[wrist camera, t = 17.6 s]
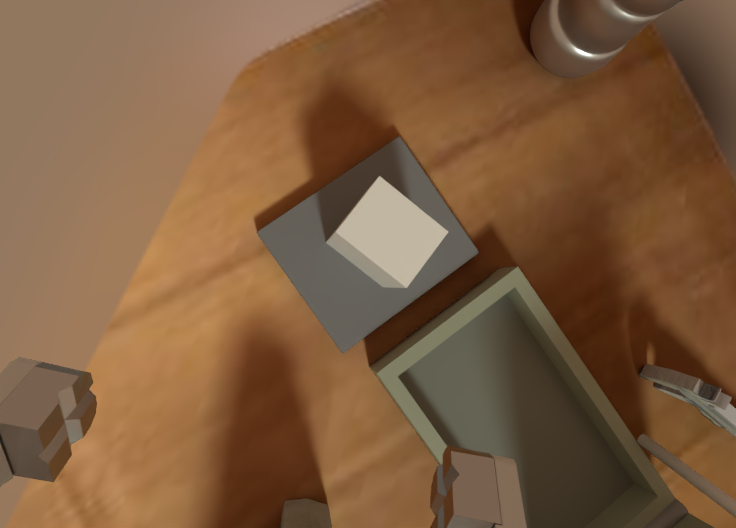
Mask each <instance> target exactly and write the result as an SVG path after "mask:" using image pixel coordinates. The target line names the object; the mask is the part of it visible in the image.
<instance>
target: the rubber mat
mask: <svg viewBox="0 0 736 528" xmlns="http://www.w3.org/2000/svg"><path fill="white" fill-rule="evenodd" d="M379 176H380V177H382V178H383V179H384V180H385V181H386V182H388V183H389V184H390V185H391V186H393V187H394V188H395V189H396V190H398V191H399V192H400V193H401V194H403V195H404V196H405V197H406V198H407V199H409V200H410V201H411V202H412V203H414V204H415V205H416V206H417V207H419V208H420V209H421V210H422V211H424V212H425V213H426V214H427V215H428V216H430V217H431V218H432V219H433V220H435V221H436V222H437V223H438V224H440V225H441V226H442V227H443V228H445V229H446V230H447V231H448V233H447V235H446V236H445V237H444V239H443V240H442V241H441V243H440V244H439V245H438V247H437V248H436V249H435V251H434V252H433V253H432V255H431V256H430V257H429V259H428V260H427V261H426V263H425V264H424V265H423V267H422V268H421V270H420V271H419V272H418V274H417V275H416V276H415V278H414V279H413V280H412V282H411V283H410V284H409V286H408V287H407V288H389V287H382V286H381V285H379V284H378V283H377V282H376V281H374V280H373V279H372V278H371V277H369V276H368V275H367V274H365V273H364V272H363V271H362V270H360V269H359V268H358V267H356V266H355V265H354V264H353V263H351V262H350V261H349V260H348V259H346V258H345V257H344V256H342V255H341V254H340V253H339V252H337V251H336V250H335V249H333V248H332V247H331V246H330V245H328V244H327V243H326V242H327V240H328V239H329V238H330V237H331V235H332V234H333V233H334V231H335V230H336V229H337V228H338V226H339V225H340V224H341V222H342V221H343V220H344V219H345V217H346V216H347V215H348V214H349V212H350V211H351V210H352V208H353V207H354V206H355V205H356V203H357V202H358V201H359V199H360V198H361V197H362V196H363V195H364V193H365V192H366V191H367V190H368V189H369V188H370V186H371V185H372V184H373V183H374V182H375V181H376V179H377V178H378V177H379ZM257 234H258V235H259V237H260V238H261V240H262V241H263V242H264V244H265V245H266V247H267V248H268V249H269V251H270V252H271V254H272V255H273V256H274V258H275V259H276V261H277V262H278V264H279V265H280V266H281V268H282V269H283V271H284V272H285V273H286V275H287V276H288V278H289V279H290V280H291V282H292V283H293V285H294V286H295V287H296V289H297V290H298V292H299V293H300V294H301V296H302V297H303V299H304V300H305V301H306V303H307V304H308V306H309V307H310V308H311V310H312V311H313V313H314V314H315V315H316V317H317V318H318V320H319V321H320V322H321V324H322V325H323V327H324V328H325V330H326V331H327V332H328V334H329V335H330V337H331V338H332V339H333V341H334V342H335V344H336V345H337V346H338V348H339V349H340V351H341V352H342V353H344V352H345V351H347V350H348V349H350V348H351V347H352V346H354V345H355V344H356V343H358V342H359V341H360V340H362V339H363V338H364V337H366V336H367V335H368V334H370V333H371V332H373V331H374V330H375V329H377V328H378V327H379V326H381V325H382V324H383V323H385V322H386V321H387V320H389V319H390V318H391V317H393V316H394V315H396V314H397V313H398V312H400V311H401V310H402V309H404V308H405V307H406V306H408V305H409V304H410V303H412V302H413V301H414V300H416V299H417V298H419V297H420V296H421V295H423V294H424V293H425V292H427V291H428V290H429V289H431V288H432V287H433V286H435V285H436V284H437V283H439V282H440V281H442V280H443V279H444V278H446V277H447V276H448V275H450V274H451V273H452V272H454V271H455V270H456V269H458V268H459V267H460V266H462V265H463V264H465V263H466V262H467V261H469V260H470V259H471V258H473V257H474V256H475V255H477V254H478V253H479V251H478V250H477V249H476V247H475V246H474V244H473V243H472V241H471V240H470V238H469V237H468V235H467V234H466V232H465V231H464V229H463V228H462V227H461V225H460V224H459V222H458V221H457V219H456V218H455V216H454V215H453V213H452V212H451V210H450V209H449V208H448V206H447V205H446V203H445V202H444V200H443V199H442V197H441V196H440V194H439V193H438V191H437V190H436V188H435V187H434V186H433V184H432V183H431V181H430V180H429V178H428V177H427V175H426V174H425V172H424V171H423V169H422V168H421V166H420V165H419V164H418V162H417V161H416V159H415V158H414V156H413V155H412V153H411V152H410V150H409V149H408V147H407V146H406V145H405V143H404V142H403V140H402V139H401V137H400V136H399V137H397V138H396V139H394V140H393V141H391V142H390V143H388V144H387V145H386V146H384V147H383V148H381V149H380V150H378V151H377V152H375V153H374V154H372V155H371V156H369V157H368V158H366V159H365V160H363V161H362V162H360V163H359V164H357V165H356V166H354V167H353V168H351V169H350V170H348V171H347V172H345V173H344V174H342V175H341V176H339V177H338V178H337V179H335V180H334V181H332V182H331V183H329V184H328V185H326V186H325V187H323V188H322V189H320V190H319V191H317V192H316V193H314V194H313V195H311V196H310V197H308V198H307V199H305V200H304V201H302V202H301V203H299V204H298V205H296V206H295V207H293V208H292V209H290V210H289V211H288V212H286V213H285V214H283V215H282V216H280V217H279V218H277V219H276V220H274V221H273V222H271V223H270V224H268V225H267V226H265V227H264V228H262V229H261V230H259V231H258V232H257Z"/></svg>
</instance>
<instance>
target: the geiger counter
mask: <svg viewBox="0 0 736 528" xmlns="http://www.w3.org/2000/svg"><path fill="white" fill-rule="evenodd" d="M280 528H332V525H331V519H330V513H329V507H328V505H327V504H324V503H321V502H317V501H314V500H311V499H308V498H305V499H295V500H285V502H284V507H283V513H282V519H281V525H280Z"/></svg>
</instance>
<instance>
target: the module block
mask: <svg viewBox="0 0 736 528" xmlns="http://www.w3.org/2000/svg"><path fill="white" fill-rule="evenodd" d="M447 233H448V231H447V230H446V229H445V228H443V227H442V226H441V225H440V224H438V223H437V222H436V221H435V220H433V219H432V218H431V217H430V216H428V215H427V214H426V213H425V212H424V211H422V210H421V209H420V208H419V207H417V206H416V205H415V204H414V203H412V202H411V201H410V200H409V199H407V198H406V197H405V196H404V195H403V194H401V193H400V192H399V191H398V190H396V189H395V188H394V187H393V186H391V185H390V184H389V183H388V182H386V181H385V180H384V179H383V178H382V177H380V176H379V177H378V178H377V179H376V181H375V182H374V183H373V184H372V185H371V186H370V188H369V189H368V190H367V191H366V192H365V193H364V195H363V196H362V197H361V198H360V199H359V201H358V202H357V203H356V205H355V206H354V207H353V208H352V210H351V211H350V212H349V214H348V215H347V216H346V217H345V219H344V220H343V221H342V222H341V224H340V225H339V226H338V228H337V229H336V230H335V231H334V233H333V234H332V235H331V237H330V238H329V239H328V240H327V242H326V243H327V244H328V245H330V246H331V247H332V248H333V249H335V250H336V251H337V252H339V253H340V254H341V255H342V256H344V257H345V258H346V259H348V260H349V261H350V262H351V263H353V264H354V265H355V266H356V267H358V268H359V269H360V270H362V271H363V272H364V273H365V274H367V275H368V276H369V277H371V278H372V279H373V280H374V281H376V282H377V283H378V284H379V285H381V286H382V287H389V288H407V287H408V286H409V284H410V283H411V282H412V280H413V279H414V278H415V276H416V275H417V274H418V272H419V271H420V270H421V268H422V267H423V265H424V264H425V263H426V261H427V260H428V259H429V257H430V256H431V255H432V253H433V252H434V251H435V249H436V248H437V247H438V245H439V244H440V243H441V241H442V240H443V239H444V237H445V236H446V235H447Z"/></svg>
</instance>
